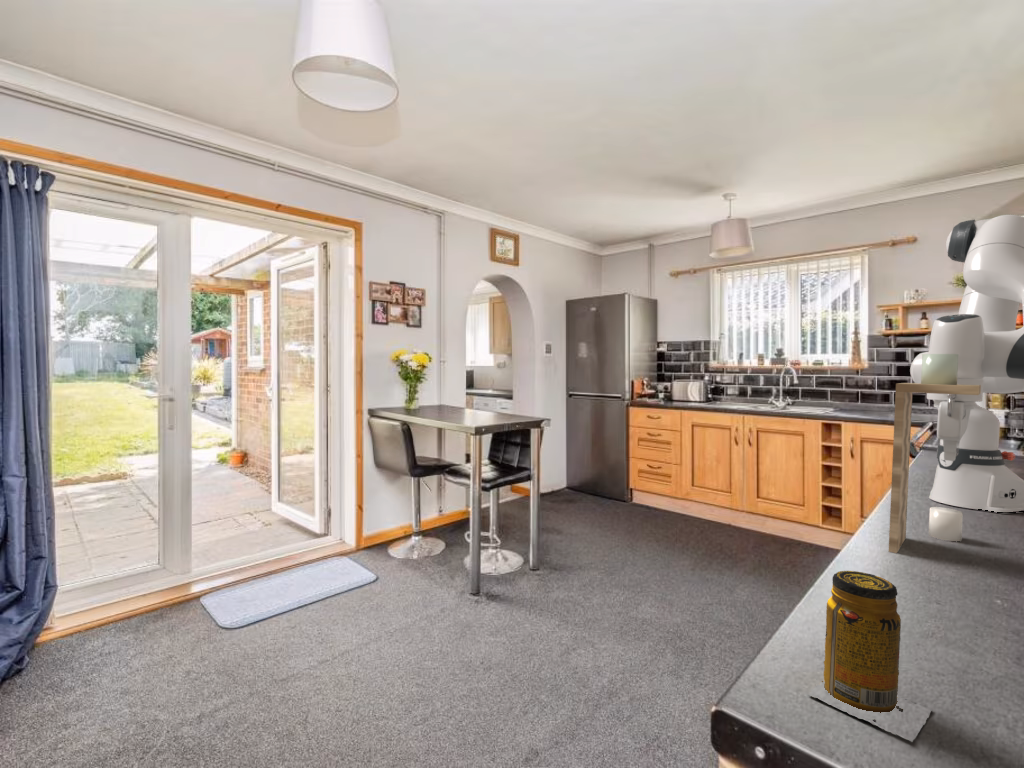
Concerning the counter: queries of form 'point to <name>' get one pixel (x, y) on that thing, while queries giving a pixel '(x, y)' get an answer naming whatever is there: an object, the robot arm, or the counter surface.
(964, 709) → the counter surface
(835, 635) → the condiment
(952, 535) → the cream rounded cylinder
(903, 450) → the oak counter shelf
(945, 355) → the pale green cylinder
